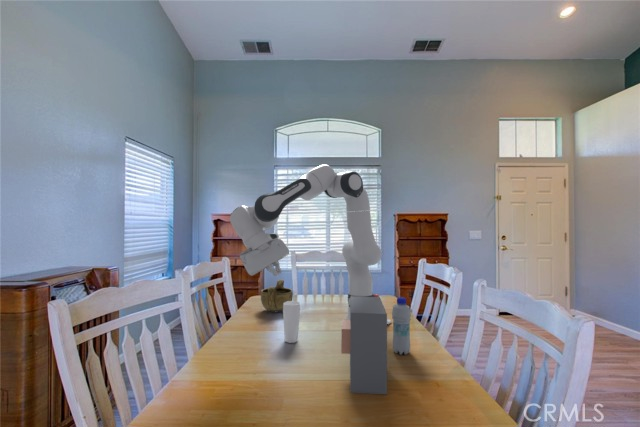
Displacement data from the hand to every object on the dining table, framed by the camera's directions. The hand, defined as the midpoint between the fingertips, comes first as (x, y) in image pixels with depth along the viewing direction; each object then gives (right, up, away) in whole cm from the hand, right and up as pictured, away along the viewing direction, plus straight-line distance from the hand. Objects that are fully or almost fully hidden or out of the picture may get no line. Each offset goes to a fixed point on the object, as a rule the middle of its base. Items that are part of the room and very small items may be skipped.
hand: (278, 274), depth 118 cm
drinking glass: (+4, -28, +7) cm, 29 cm away
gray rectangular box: (+30, -27, -21) cm, 46 cm away
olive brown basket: (-8, -29, +50) cm, 59 cm away
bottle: (+45, -28, -3) cm, 54 cm away
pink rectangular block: (+25, -19, -20) cm, 37 cm away
